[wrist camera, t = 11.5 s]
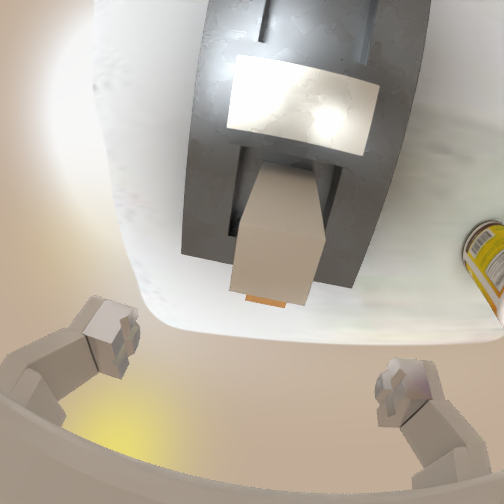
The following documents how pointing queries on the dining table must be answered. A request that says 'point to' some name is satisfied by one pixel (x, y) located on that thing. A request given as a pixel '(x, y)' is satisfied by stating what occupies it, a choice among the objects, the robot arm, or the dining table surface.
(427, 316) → the dining table surface
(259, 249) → the plug
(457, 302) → the dining table surface
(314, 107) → the panel
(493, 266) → the supplement bottle
